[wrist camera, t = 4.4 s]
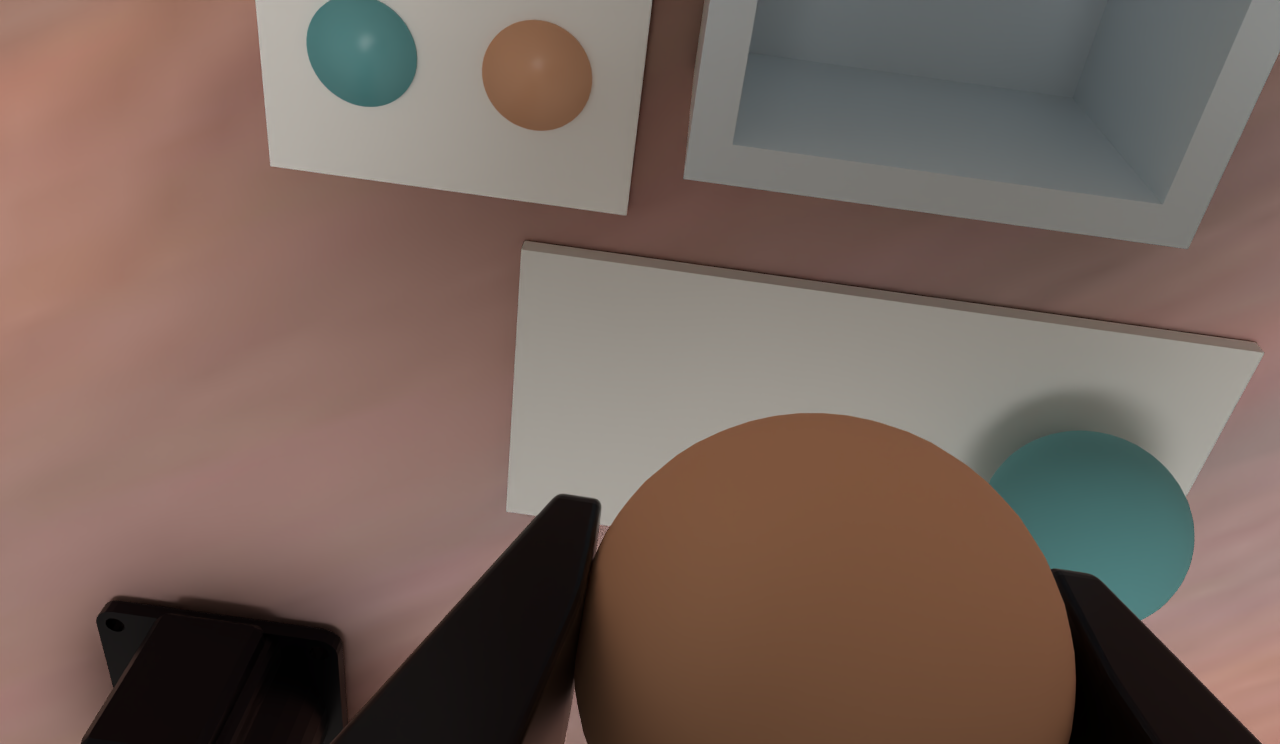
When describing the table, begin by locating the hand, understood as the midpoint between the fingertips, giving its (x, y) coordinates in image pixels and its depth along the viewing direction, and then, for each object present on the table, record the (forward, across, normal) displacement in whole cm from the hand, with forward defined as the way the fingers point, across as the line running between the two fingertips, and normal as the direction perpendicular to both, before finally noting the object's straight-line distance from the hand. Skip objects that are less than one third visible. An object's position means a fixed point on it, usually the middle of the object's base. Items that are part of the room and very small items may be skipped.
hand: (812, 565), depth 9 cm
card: (+12, +6, 0) cm, 13 cm away
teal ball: (+9, -7, +7) cm, 14 cm away
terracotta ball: (-1, 0, 0) cm, 1 cm away
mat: (+12, -3, +7) cm, 14 cm away
